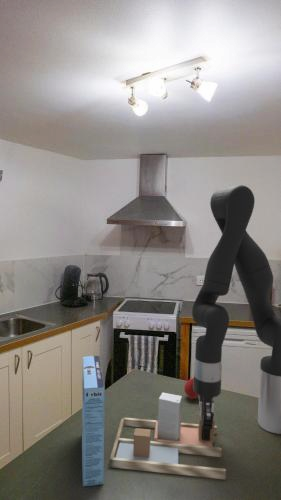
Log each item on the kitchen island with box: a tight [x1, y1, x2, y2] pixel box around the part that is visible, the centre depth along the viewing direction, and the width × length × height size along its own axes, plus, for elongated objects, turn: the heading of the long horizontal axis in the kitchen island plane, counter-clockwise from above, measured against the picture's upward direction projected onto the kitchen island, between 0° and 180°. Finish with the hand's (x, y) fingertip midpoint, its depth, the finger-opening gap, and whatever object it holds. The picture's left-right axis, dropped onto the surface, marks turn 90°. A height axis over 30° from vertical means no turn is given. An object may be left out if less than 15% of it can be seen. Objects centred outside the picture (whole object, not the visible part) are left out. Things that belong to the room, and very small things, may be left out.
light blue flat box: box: [81, 355, 106, 487], centre depth 83 cm, size 20×5×23 cm, turn 10°
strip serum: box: [153, 414, 216, 447], centre depth 91 cm, size 16×8×7 cm, turn 84°
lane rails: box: [109, 416, 227, 480], centre depth 88 cm, size 28×18×2 cm, turn 84°
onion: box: [183, 376, 199, 400], centre depth 114 cm, size 6×6×8 cm
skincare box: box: [157, 392, 183, 441], centre depth 92 cm, size 6×4×12 cm
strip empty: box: [115, 427, 179, 464], centre depth 84 cm, size 16×7×7 cm, turn 84°
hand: (204, 435), depth 91 cm, fingers closed on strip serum, 3 cm apart
